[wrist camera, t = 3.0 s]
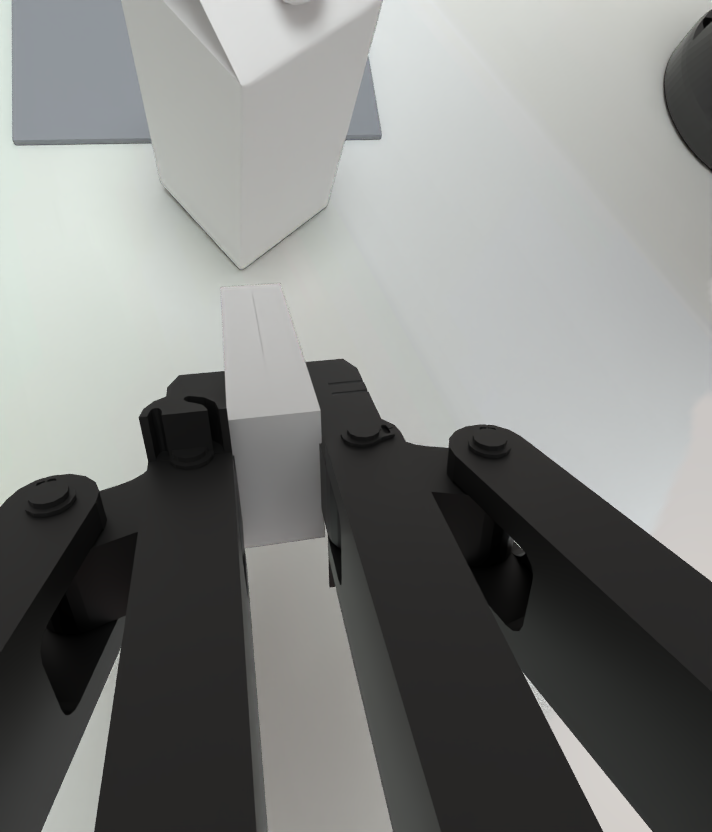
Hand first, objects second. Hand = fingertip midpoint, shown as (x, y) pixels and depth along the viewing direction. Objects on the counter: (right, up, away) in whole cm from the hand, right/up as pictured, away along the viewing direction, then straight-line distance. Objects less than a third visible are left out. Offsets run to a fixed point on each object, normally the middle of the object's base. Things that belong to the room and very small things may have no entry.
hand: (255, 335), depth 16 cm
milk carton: (-4, +11, +21) cm, 24 cm away
